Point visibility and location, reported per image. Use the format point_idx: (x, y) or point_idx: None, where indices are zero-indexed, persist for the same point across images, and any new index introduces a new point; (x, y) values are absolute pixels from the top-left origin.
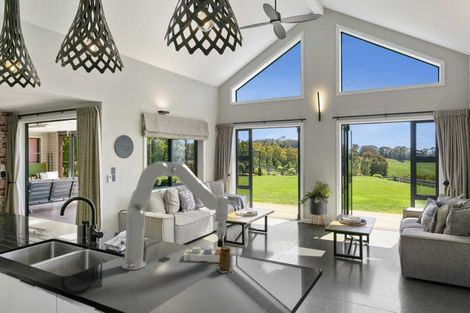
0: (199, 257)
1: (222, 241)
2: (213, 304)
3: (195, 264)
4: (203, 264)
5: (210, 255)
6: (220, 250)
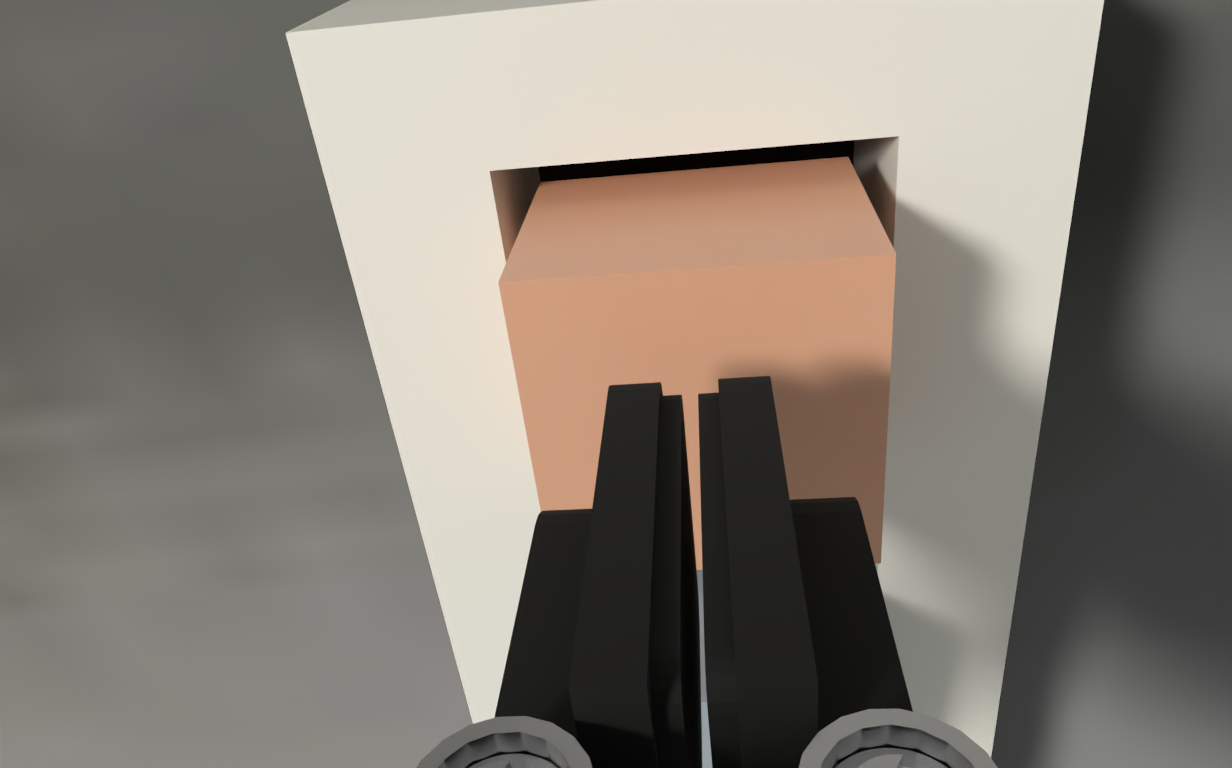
0: None
1: (812, 652)
2: None
3: (1157, 716)
4: (1164, 575)
5: (974, 582)
6: (889, 377)
